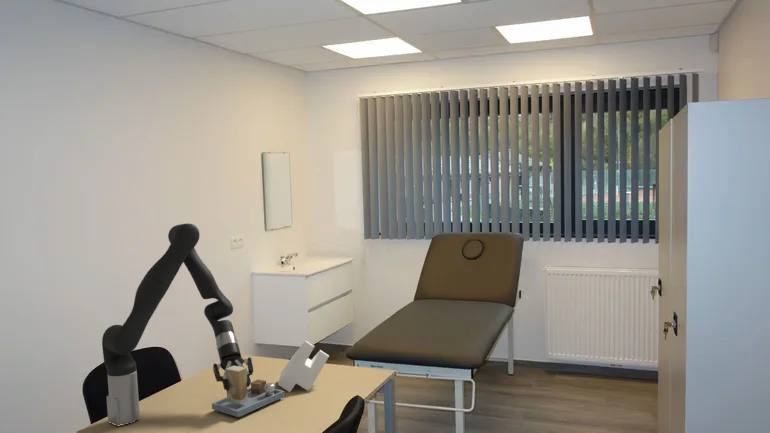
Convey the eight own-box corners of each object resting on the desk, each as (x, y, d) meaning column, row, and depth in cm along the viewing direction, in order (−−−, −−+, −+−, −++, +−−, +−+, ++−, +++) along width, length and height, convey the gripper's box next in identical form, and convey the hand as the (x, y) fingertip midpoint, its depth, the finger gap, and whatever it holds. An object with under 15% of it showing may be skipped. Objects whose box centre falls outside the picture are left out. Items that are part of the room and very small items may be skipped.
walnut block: (260, 394, 222) (259, 384, 222) (251, 393, 224) (250, 382, 224) (266, 391, 226) (266, 380, 225) (258, 389, 228) (257, 379, 227)
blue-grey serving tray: (238, 420, 204) (237, 411, 204) (212, 411, 212) (211, 403, 212) (284, 399, 222) (284, 391, 222) (259, 391, 230) (258, 384, 230)
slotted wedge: (301, 399, 230) (328, 361, 229) (277, 384, 228) (304, 345, 228) (303, 387, 243) (329, 350, 243) (281, 372, 242) (306, 336, 242)
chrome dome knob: (269, 397, 219) (269, 387, 219) (263, 395, 221) (262, 385, 221) (277, 394, 222) (276, 384, 221) (270, 392, 224) (269, 382, 224)
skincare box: (226, 402, 213) (224, 368, 212) (235, 397, 216) (233, 364, 215) (240, 405, 210) (238, 371, 209) (248, 400, 213) (247, 367, 212)
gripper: (209, 345, 215) (219, 387, 205) (248, 338, 221) (260, 378, 212) (206, 355, 220) (216, 397, 210) (245, 349, 227) (256, 388, 217)
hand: (238, 387), depth 211 cm, fingers closed on skincare box, 6 cm apart
